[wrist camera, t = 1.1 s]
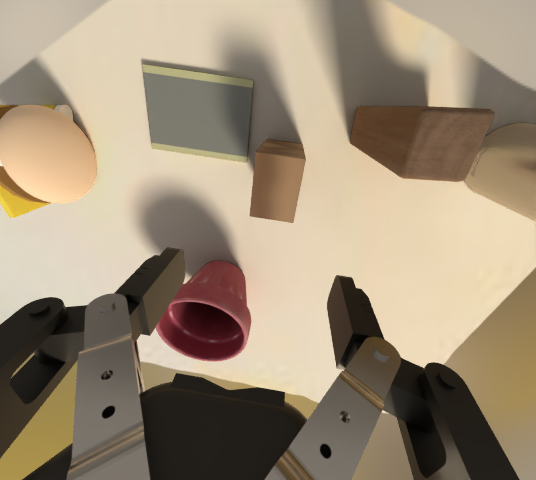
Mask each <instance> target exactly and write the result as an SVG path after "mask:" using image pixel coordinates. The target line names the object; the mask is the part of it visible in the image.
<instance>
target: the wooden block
mask: <svg viewBox="0 0 536 480" xmlns="http://www.w3.org/2000/svg"><path fill="white" fill-rule="evenodd" d="M493 118H494V112H493V111H491V110H490V109H474V108H451V107H427V106H360V107H358V108H357V109H356V113H355V118H354V123H353V129H352V134H351V139H350V144H352V145H353V146H355V147H356V148H358V149H359V150H361V151H362V152H364V153H365V154H367V155H368V156H370V157H371V158H373V159H374V160H376V161H377V162H379V163H380V164H382V165H383V166H385V167H386V168H388V169H389V170H391V171H392V172H394V173H395V174H397V175H398V176H400V177H401V178H404V179H420V180H436V181H452V182H459V181H464V180H465V179H466V177H467V175H468V173H469V171H470V169H471V166H472V164H473V162H474V160H475V158H476V155H477V153H478V151H479V149H480V147H481V144H482V142H483V140H484V138H485V136H486V134H487V131H488V129H489V127H490V125H491V123H492V120H493Z"/></svg>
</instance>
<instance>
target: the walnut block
mask: <svg viewBox="0 0 536 480" xmlns="http://www.w3.org/2000/svg"><path fill="white" fill-rule="evenodd" d="M305 161H306V158H305V154H304V149H303V144H299V143H292V142H285V141H278V140H272V139H266V140H265V142H264V143H263V144H262V145H261V146H260V148H259V149H258V150H257V151H256V155H255V165H254V176H253V187H252V197H251V208H250V216H252V217H258V218H265V219H271V220H278V221H284V222H291V223H293V221H294V216H295V211H296V206H297V201H298V196H299V191H300V186H301V181H302V176H303V171H304V166H305Z"/></svg>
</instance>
